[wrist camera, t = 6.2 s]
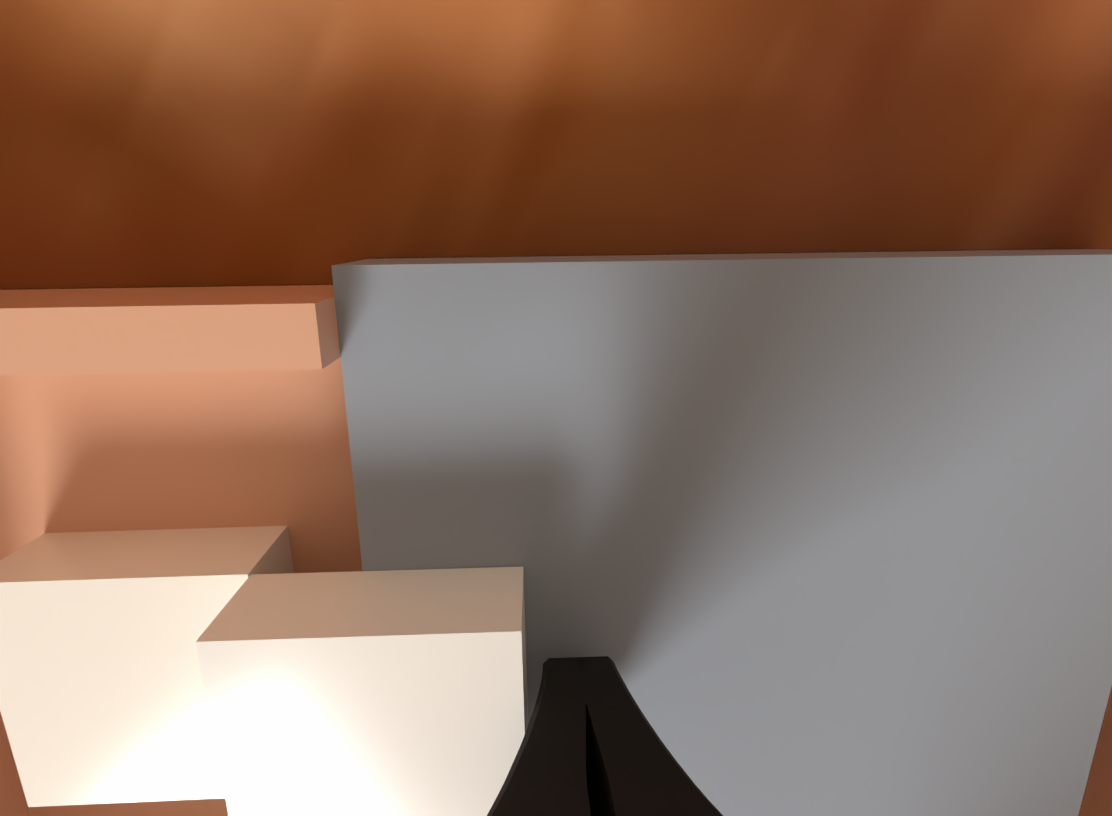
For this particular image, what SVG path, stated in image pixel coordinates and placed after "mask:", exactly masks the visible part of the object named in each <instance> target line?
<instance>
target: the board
mask: <svg viewBox="0 0 1112 816" xmlns="http://www.w3.org/2000/svg"><path fill="white" fill-rule="evenodd" d="M331 269H332V279H333V288H334V298H335V308H336V317H337V327H338V337H339V347H340V356H341V366H342V376H343V386H344V395H345V405H346V415H347V424H348V434H349V444H350V454H351V463H352V473H353V483H354V492H355V502H356V512H357V522H358V531H359V541H360V551H361V561H362V570H363V571H387V570H421V569H455V568H488V567H522V566H523V567H524V599H525V631H526V662H527V694H528V724H529V721H530V719H531V716H532V713H533V710H534V707H535V703H536V700H537V696H538V693H539V688H540V684H541V678H542V672H543V663H544V662H545V661H546V660H547V659H549V658H569V657H598V656H608V657H610V658H611V659H612V660H613V661H614V663H615V665H616V668H617V670H618V672H619V674H620V676H621V677H622V679H623V681H624V683H625V685H626V687H627V688H628V690H629V692H630V693H631V695H632V697H633V698H634V700H635V702H636V703H637V705H638V707H639V708H640V710H641V711H642V713H643V714H644V716H645V717H646V719H647V720H648V722H649V723H650V725H651V726H652V728H653V729H654V731H655V732H656V733H657V735H658V736H659V738H660V739H661V741H662V742H663V744H664V745H665V746H666V748H667V749H668V750H669V752H670V753H671V754H672V756H673V757H674V758H675V760H676V761H677V762H678V763H679V765H680V766H681V767H682V768H683V770H684V771H685V772H686V774H687V775H688V776H689V777H690V779H691V780H692V781H693V782H694V783H695V785H696V786H697V787H698V788H699V789H700V790H701V792H702V793H703V794H704V795H705V796H706V797H707V799H708V800H709V801H710V802H711V803H712V804H713V805H714V806H715V807H716V808H717V809H718V811H719V812H720V813H721V814H722V815H723V816H1078V814H1079V811H1080V807H1081V803H1082V799H1083V795H1084V791H1085V787H1086V783H1087V780H1088V776H1089V772H1090V768H1091V764H1092V760H1093V756H1094V753H1095V749H1096V745H1097V741H1098V737H1099V733H1100V729H1101V726H1102V722H1103V718H1104V714H1105V710H1106V706H1107V702H1108V698H1109V695H1110V691H1111V687H1112V249H1049V250H976V251H902V252H829V253H755V254H682V255H609V256H535V257H462V258H388V259H364V260H359V261H353V262H347V263H342V264H336V265H331Z"/></svg>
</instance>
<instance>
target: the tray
mask: <svg viewBox="0 0 1112 816" xmlns="http://www.w3.org/2000/svg"><path fill="white" fill-rule="evenodd" d="M257 526H288V533H289V540H290V547H291V555H292V562H293V569H294V573H320V572H354V571H363V570H362V561H361V551H360V541H359V531H358V522H357V512H356V502H355V492H354V483H353V473H352V463H351V454H350V444H349V434H348V424H347V415H346V405H345V395H344V386H343V376H342V366H341V356H340V347H339V337H338V327H337V317H336V308H335V298H334V288H333V285H290V286H223V287H157V288H90V289H24V290H0V560H2V559H4V558H5V557H7V556H8V555H10V554H12V553H13V552H15V551H16V550H18V549H20V548H21V547H23V546H24V545H26V544H28V543H29V542H31V541H32V540H34V539H36V538H37V537H39V536H40V535H42V534H44V533H61V532H94V531H126V530H159V529H192V528H224V527H257ZM0 816H229V815H228V810H227V805H226V800H225V798H218V799H196V800H174V801H152V802H130V803H109V804H87V805H65V806H43V807H28V804H27V801H26V797H25V794H24V791H23V787H22V784H21V780H20V777H19V773H18V770H17V767H16V763H15V760H14V756H13V753H12V749H11V746H10V743H9V739H8V736H7V732H6V729H5V725H4V722H3V719H2V715H1V712H0Z"/></svg>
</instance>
